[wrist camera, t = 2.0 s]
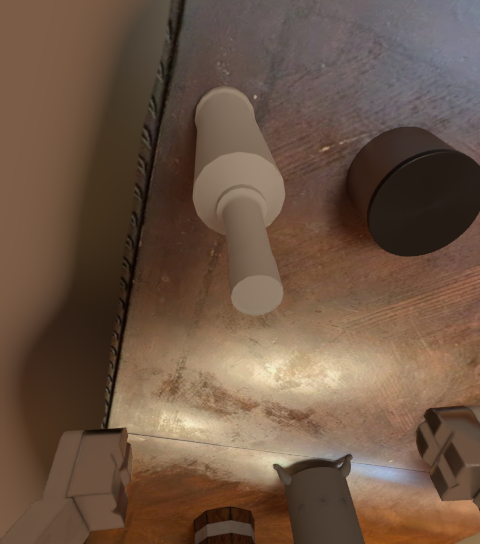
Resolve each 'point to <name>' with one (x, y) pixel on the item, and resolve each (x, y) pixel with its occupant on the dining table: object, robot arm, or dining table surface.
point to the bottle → (239, 195)
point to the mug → (225, 527)
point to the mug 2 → (321, 505)
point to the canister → (414, 191)
